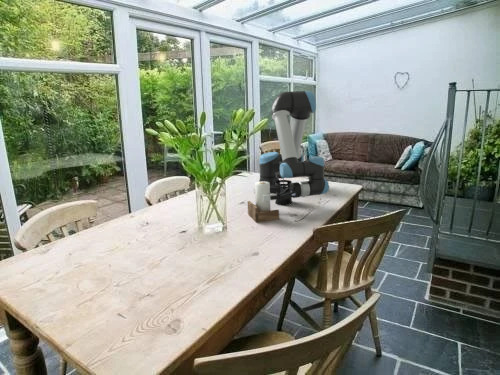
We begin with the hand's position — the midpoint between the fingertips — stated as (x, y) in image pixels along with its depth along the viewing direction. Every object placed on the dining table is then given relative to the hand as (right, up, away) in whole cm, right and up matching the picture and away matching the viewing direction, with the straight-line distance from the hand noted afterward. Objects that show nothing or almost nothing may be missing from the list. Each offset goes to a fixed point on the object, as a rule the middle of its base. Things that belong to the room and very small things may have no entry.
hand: (258, 194), depth 162 cm
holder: (+2, -11, +3) cm, 12 cm away
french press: (+14, -5, +24) cm, 29 cm away
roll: (+2, -10, +3) cm, 11 cm away
